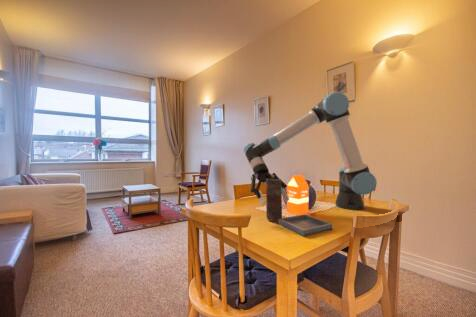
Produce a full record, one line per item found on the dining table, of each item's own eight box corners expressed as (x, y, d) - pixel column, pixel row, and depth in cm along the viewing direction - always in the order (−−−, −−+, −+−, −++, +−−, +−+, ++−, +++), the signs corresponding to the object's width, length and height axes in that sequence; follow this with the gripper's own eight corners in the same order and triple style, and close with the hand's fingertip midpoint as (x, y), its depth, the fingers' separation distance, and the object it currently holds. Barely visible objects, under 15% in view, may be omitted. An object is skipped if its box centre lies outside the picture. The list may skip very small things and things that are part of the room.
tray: (305, 219, 109) (305, 213, 108) (332, 229, 94) (332, 224, 94) (278, 224, 101) (278, 218, 101) (303, 236, 87) (303, 230, 87)
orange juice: (308, 212, 119) (309, 175, 118) (298, 216, 113) (298, 176, 112) (296, 209, 125) (296, 173, 124) (286, 212, 120) (286, 175, 119)
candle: (262, 219, 108) (263, 178, 107) (272, 216, 113) (273, 176, 112) (275, 223, 102) (275, 179, 101) (285, 220, 107) (285, 178, 106)
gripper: (275, 171, 126) (293, 203, 114) (235, 173, 115) (250, 209, 102) (281, 162, 121) (300, 195, 109) (240, 163, 110) (256, 200, 97)
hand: (276, 202), depth 105 cm, fingers open, 13 cm apart
